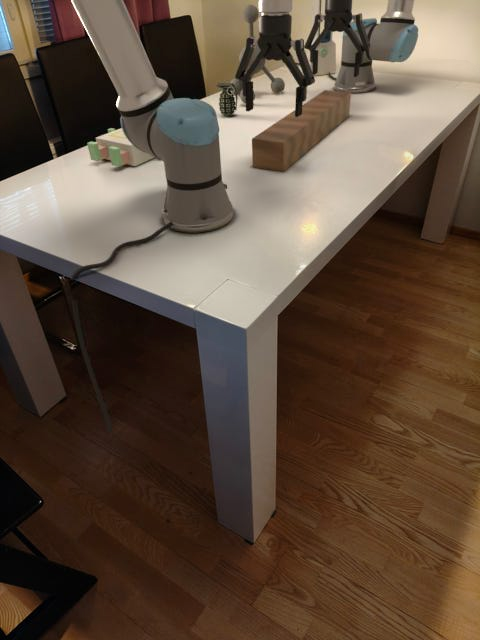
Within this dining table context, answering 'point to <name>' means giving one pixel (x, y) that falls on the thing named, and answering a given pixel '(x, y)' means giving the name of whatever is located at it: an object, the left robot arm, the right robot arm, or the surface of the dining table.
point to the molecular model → (277, 83)
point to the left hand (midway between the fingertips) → (273, 112)
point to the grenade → (227, 99)
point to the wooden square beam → (299, 131)
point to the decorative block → (116, 149)
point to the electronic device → (323, 46)
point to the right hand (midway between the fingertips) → (335, 74)
